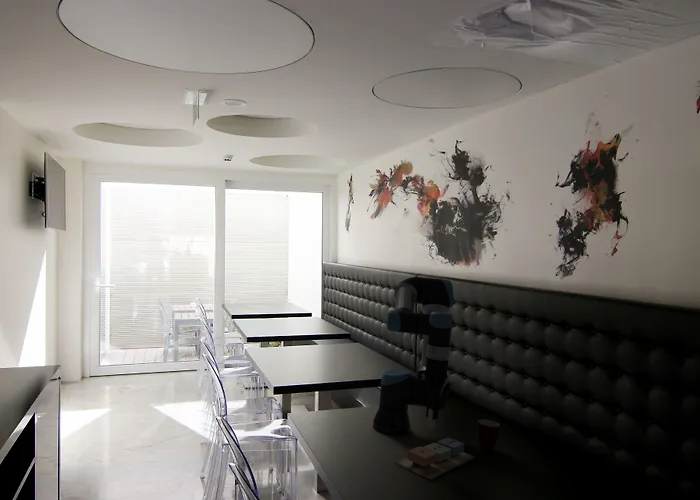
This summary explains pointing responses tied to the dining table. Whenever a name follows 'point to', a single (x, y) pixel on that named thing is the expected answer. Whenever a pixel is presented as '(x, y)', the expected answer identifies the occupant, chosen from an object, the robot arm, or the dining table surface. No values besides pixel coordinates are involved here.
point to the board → (435, 465)
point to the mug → (487, 434)
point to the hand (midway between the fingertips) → (430, 427)
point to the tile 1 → (422, 456)
